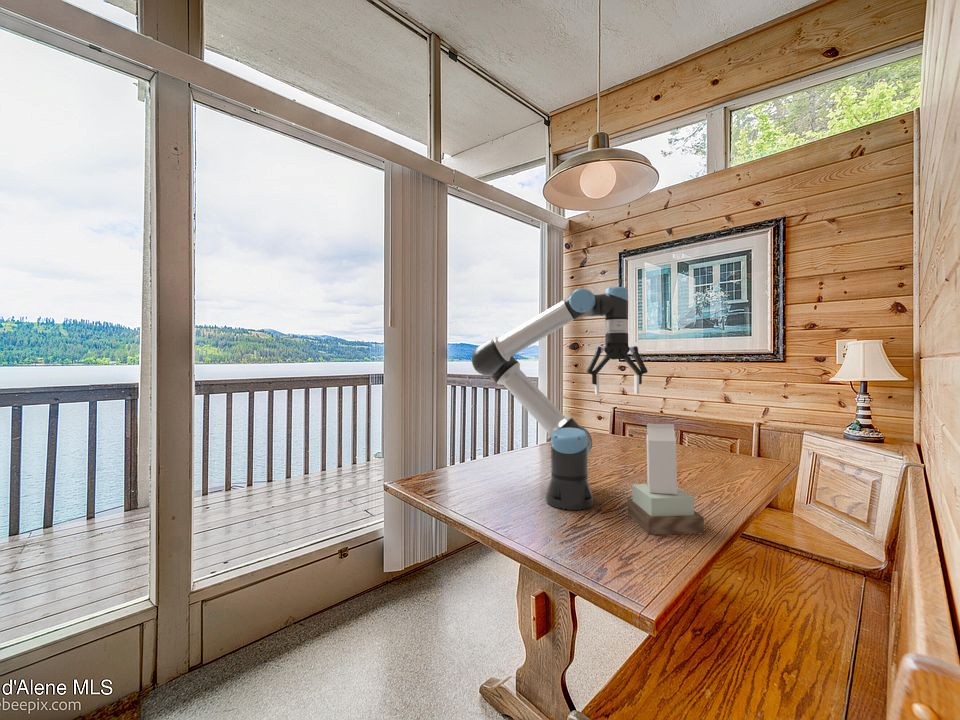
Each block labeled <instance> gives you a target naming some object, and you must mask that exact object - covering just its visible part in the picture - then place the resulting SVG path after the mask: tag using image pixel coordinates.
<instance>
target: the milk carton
mask: <svg viewBox="0 0 960 720" xmlns="http://www.w3.org/2000/svg"><path fill="white" fill-rule="evenodd" d="M645 436H646V472H647V473H646V475H647V477H646V479H647V481H646V482H647V483H646V484H648V488H649V492H650V493H662V494H677V487H678V474H677V473H678V470H677V469H678V467H677V439H676V432H675V424H673V423H646V435H645Z"/></svg>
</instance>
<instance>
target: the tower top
mask: <svg viewBox="0 0 960 720" xmlns="http://www.w3.org/2000/svg"><path fill="white" fill-rule="evenodd" d="M631 487H632V488H631V489H632V490H631V494H632V498H631V499H632V501H633V502H634V503H636V504H637V505H638V506H639V507H640V508H642V509H643V510H644V511H645V512H646V513H648V514H649V515H650V516H651V517H653V516H685V515H694V511H695V497H694V496H693V495H691V494H690V493H689V492H686V491H685V490H683V489H681V488H680V487H679V486H677V494H662V493H650V492H649V488H648V483H635V484H634V483H633V484H631Z"/></svg>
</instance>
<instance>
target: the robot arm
mask: <svg viewBox="0 0 960 720" xmlns="http://www.w3.org/2000/svg"><path fill="white" fill-rule="evenodd" d="M604 291H605V292H604V293H602V294H595V293H593V292H592V291H591V290H590V289H587V288H584V287H583V288H577V289H575V290H574V291H572V293H571V294H570V295H569V296H567V297H565V298H564V299H563V300H561V301H559V302H558V303H556V304H554V305H553V306H550V307H549V308H547V309H546V310H544V311H542V312H540V313H539V314H537V315H536V316H534V317H532V318H531V319H529V320H527V321H526V322H523V323H522V324H521V325H519V326H517V327H516V328H514V329H512V330H510V331H509V332H507V333H505V334H504V335H502V336H500V337H499V336H498V337H497V336H494V337H493V338H492V339H489V340H488V341H486V342H484V343H482V344H480V345H478V346H477V347H476V348H475V349H474V350H473V353H472V356H471V364H472V367H473V369H474V370H475V372H477V373H478V374H480V375H482V376H487V377H490V378H491V379H492V380H493V381H494V382H495V384H497V385H502V386H504V387H505V388H506V389H507V390H508V392H510V393H511V395H512V396H513V397H514V398H515V399H516V400H517V401H518V403H520V404H521V405H522V407H523V408H524V409H525V410H526V411H527V412H528V414H530V415H531V416H532V417H533V419H535V421H536V422H537V423H539V425H540V426H541V427H542V428H543V429H544V430H545V431H546V432H547V439H548V440H549V441H550V445H551V446H550V449H551V450H550V453H551V456H550V458H551V459H550V460H551V463H550V468H551V469H550V474H551V477H550V480H549V484H548V487H547V489H546V493H545V502H546V501H547V502H546V503H547V504H548V503H549V504H550V505H549V504H548V505H549V506H551V505H552V506H551V507H553V506H554V508H556V507H558V508H557V509H560V508H562V509H561V510H565V509H567V510H566V511H581V509H583V510H585V509H586V508H587V509H590V508H591V507H593V505H594V495H593V493H592V489H591V487H590V484H589V481H588V480H589V479H588V458H589V454H590V453H591V450H592V447H593V439H592V436H591V433H590V432H589V430H588V429H587V428H586V427H584V426H582V425H580V424H578V422H577V421H575V419H574V418H573V417H572V416H566V415H564V414H563V413H562V412H561V410H560V409H558V407H556V406H555V405H554V403H553V402H552V401H551V400H550V399H549V398H548V397H547V396H546V395H545V394H544V393H543V392H542V391H541V389H539V388H538V387H537V386H536V385H535V383H534V382H532V380H531V379H530V378H529V377H528V376H527V375H526V374H525V373H524V372H523V371H522V370H521V364H520V362H519V361H518V360H517V359H516V357H515V356H514V355H517V354H518V353H520V352H521V351H524V350H525V349H527V348H528V347H530V346H531V345H533V344H535V343H536V342H538V341H541V340H542V339H544V338H545V337H547V336H549V335H551V334H553V333H554V332H556V331H558V330H559V329H561V328H562V327H564V326H567V325H568V324H569V323H571V322H572V321H574V320H576V319H579V318H583V317H585V318H586V317H605V318H604V319H605V321H604V322H605V325H604V326H605V330H604V331H605V333H606V334H605V339H604V340H605V341H604V342H605V345H604V347H601V346H596V347H595V353H594V355H593V357H592V359H591V362H590V363H589V365H588V367H587V369H586V373H587V374H590V375H591V384H592V385H594V394H595V395H600V375H599V374H598V373H599V372H600V371H601V370H602V369H603V368H604V366H605V365H606V364H607V363H608V362H609V361H611V360H624V361H625V363H626V364H627V365H628V366H629V367H630V368H631V370H633V372H634V373H635V374H634V375H633V394H634V395H640V385H642V384H643V383H642V382H643V377H642V376H644V374H648V369H647V367H646V365H645V363H644V361H643V359H642V357H641V355H640V353H639V348H638V346H636V345H635V346H629V333H628V331H629V290H628V289H627V288H626V287H625V286H612V287H606V288H605V290H604ZM603 352H604V353H605V354H606V355H604V356H603V358H602V360H601V361H600V362H599V363H598V360H599V358H600V356H601V354H603ZM629 352H630V353H631V354H632V356H633V357H634V360H635V362H636V364H635V362H634V361H633V360H632V359H631V357H630V356H629V355H628V354H629ZM597 363H598V365H596V364H597ZM637 365H638V366H637ZM595 366H596V367H595ZM589 507H590V508H589Z"/></svg>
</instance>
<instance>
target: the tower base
mask: <svg viewBox="0 0 960 720" xmlns="http://www.w3.org/2000/svg"><path fill="white" fill-rule="evenodd" d="M627 514H628V515H629V516H630V518H631V519H633V520H634V521H635V522H636V523H637V524H638V525H639V526H640V527H641V528H642V529H643V530H644V532H645V533H647V534H648V535H688V534H687V533H691V534H690V535H693V534H692V533H704V532H705V531H704V530H705V529H704V527H705V524H704V523H705V517H704V516H702V514H700V513H699V512H697V511H695V510H694V515H685V516H653V517H651V516H650V515H649V514H648V513H646V512H645V511H644V510H643V509H642V508H640V507H639V506H638V505H637V504H636V503H634V502H633V501H632V498H627ZM704 534H705V533H704Z"/></svg>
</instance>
